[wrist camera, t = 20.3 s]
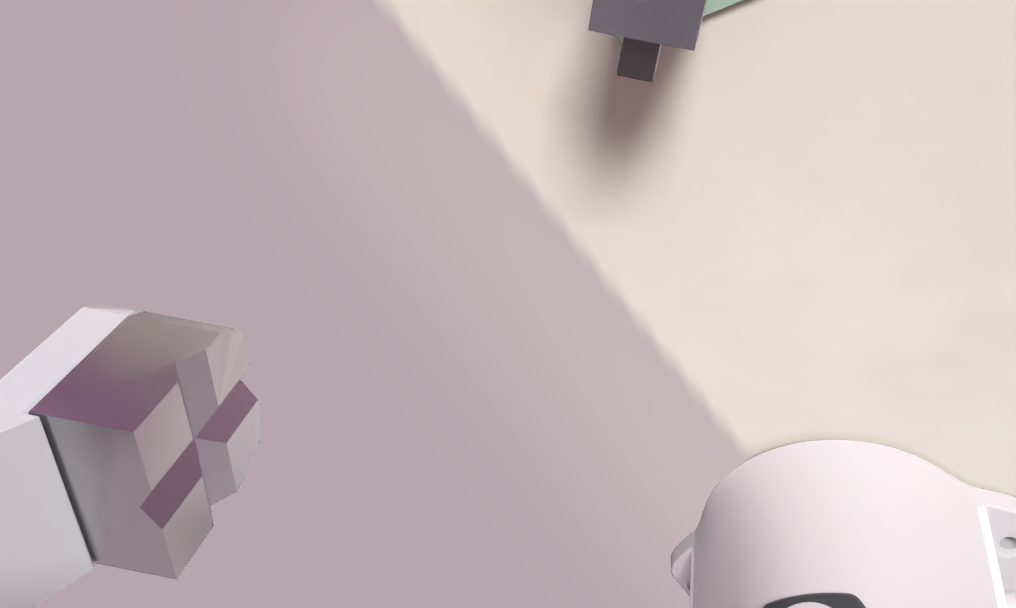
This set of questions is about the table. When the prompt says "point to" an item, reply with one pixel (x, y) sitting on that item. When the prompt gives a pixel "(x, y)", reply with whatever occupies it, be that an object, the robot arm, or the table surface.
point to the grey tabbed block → (647, 30)
